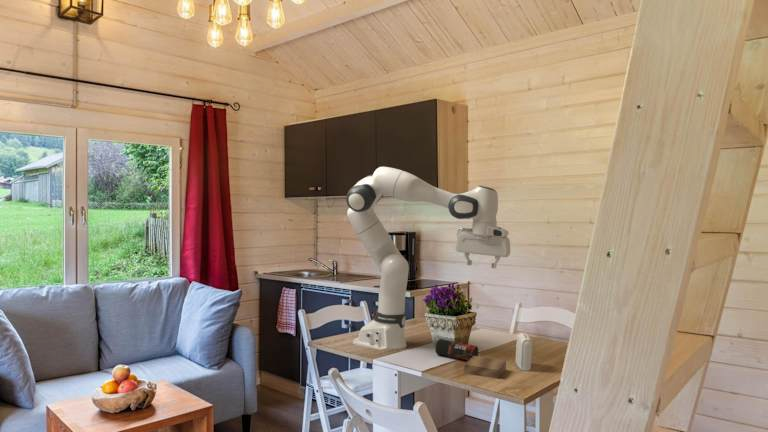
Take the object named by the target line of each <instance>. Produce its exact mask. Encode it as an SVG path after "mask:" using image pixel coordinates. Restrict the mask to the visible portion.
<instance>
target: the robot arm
mask: <svg viewBox="0 0 768 432" xmlns="http://www.w3.org/2000/svg"><path fill="white" fill-rule="evenodd" d="M384 195H385V196H389V197H392V198H394V199H397V200H401V201H403V202H404V201H405V202H411V203H415V202H416V203H417V202H422V203H423V202H425V203H426V202H427V203H431V204H435V205H437V206H441V207H443V208H446V209H448V212H449V213H450V215H451V216H452V217H453V218H455V219H458V220H469V219H472V225H471V226H472V228H468V227H467V228H465V227H461V228H459V229H458V230H457V231H456V243H455V250H456V252H458V253H463V254H464V258H465V260H466V265H467V266H472V263H473V261H472V260H471V259H470V257H469V256H470V255H482V256H491V257H492V256H493V257H494V260H495V261H494V262H492V263H491V266H490V267H491V269H497V264H498V263H499V261H500V260H501V258H508V257H510V255H511V241H510V238H509V237H508V236H509V233H510V232H509V230H507V229H504V228H502V227H499V226H498V224H497V223H498V221H497V215H498V214H497V213H498V210H499V196H498V195H499V194H498V192H497V191H496V190H495V189H494V188H492V187H488V186H483V185H478V186H476V187H475V188H473V189H471V190H469V191H466V192H461V193H454V192H451V191H448V190H445V189H442V188H439V187H436V186H433V185H432V184H430V183H428V182H427V181H425V180H423V179H421V178H419V177H418V176H416V175H415V174H413V173H410V172H408V171H404V170H402V169H398V168H396V167H395V168H394V167H389V166H379V167H378V168H376V169H375V170H374V172H373V174H369V175H366V176H365V177H364V178H362V179H360V180H358V181H357V182H356V184H354V185H353V186H352V187H350V189H349V190H348V191H347V194H346V197H345V198H346V199H345V201H346V204H347V206H348V209H347V211H346V212H347V213H346V214H347V218H348V221H349V223H350V224H351V225H350V226H351V227H352V229H353V231H354V232H355V235H357V237H358V239H359V241H360V242H361V243H362V245H363V246H364V248H365V249H366V250H367V252H368V254H369V255H370V258H372V261H373V262H374V263H375V264H376V266H377V268H378V269H379V270H380V282H379V290H378V299H377V300H378V303H377V310H376V311H374V312H373V313H372V315H371V316H372V317H373V319H372V320H370V321H369V322H367V323H366V324H365V325H363V326H362V327H361V328H360V330H359V334H358V337H355V338H354V339H353V341H352V344H353V345H355V346H360V347H364V348H370V349H375V350H379V351H380V350H381V351H385V350H400V349H401V350H402V349H405V348H407V342H406V341H407V340H406V336H405V334H406V333H405V326H406V312H405V306H406V292H407V288H408V287H407V286H408V279H409V271H410V270H409V269H410V268H409V266H410V265H409V262H408V261H407V259H406V258H405V257H404V256H403V254H401V252H400V251H399V249H398V247H397V246H396V244H395V242H394V240H393V239H392V237H391V236H390V234H389V233H388V231H387V229H386V228H385V226H384V224H383V223H382V221H381V220H380V218H379V217H378V215H377V214H376V213H375V210H374V206H375V205H376V204H378V202H379V201H380V200H381V199H382V198H383V197H384Z"/></svg>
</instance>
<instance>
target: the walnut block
mask: <svg viewBox="0 0 768 432" xmlns="http://www.w3.org/2000/svg"><path fill="white" fill-rule="evenodd" d="M506 370H507V361H506V360H501V359H498V358H497V359H496V358H492V357H491V358H490V357H484V356H479V355H478V356H473V357H472V358H471V359H470V360H469V361H465V363H464V369H463V372H464V373H463V375H471V376H480V377H484V378H490V379H491V378H492V379H500V378H501V376H502V375H503V374H504V373H505V372H506Z"/></svg>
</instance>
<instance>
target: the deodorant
mask: <svg viewBox="0 0 768 432" xmlns="http://www.w3.org/2000/svg"><path fill="white" fill-rule="evenodd" d="M435 354H437V355H438V356H444V357H448V358H453V359H458V360H461V361H465V362H468V361H469V360H470V359H471V358H472V357H473V356H479V348H478V346H477V345H472V344H467V343H463V342H457V341H452V340H449V339H448V340H447V339H446V340H445V339H441V338H439V339H438V340H437V342H436V344H435Z"/></svg>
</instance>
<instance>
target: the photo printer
mask: <svg viewBox="0 0 768 432" xmlns="http://www.w3.org/2000/svg"><path fill="white" fill-rule="evenodd" d="M515 344H516V347H515V360H514V361H515V365H516V366H517V367H518V369H519V370H521V371H524V372H529V371H531V370H532V369H531V368H532V354H533V353H532V352H533V341H532V338H531V337H530V336H529V334H528V333H526V332H520V333H518V334H517V336H516V343H515Z"/></svg>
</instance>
